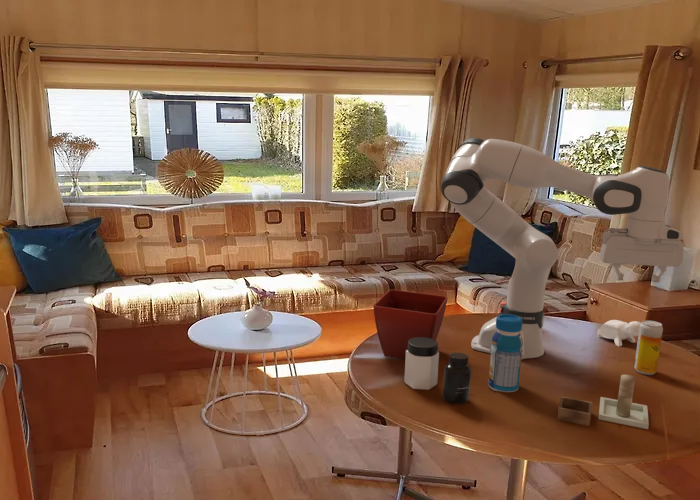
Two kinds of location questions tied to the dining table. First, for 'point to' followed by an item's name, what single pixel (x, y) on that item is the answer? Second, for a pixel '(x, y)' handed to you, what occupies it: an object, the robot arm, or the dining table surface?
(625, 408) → the dowel
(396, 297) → the plant pot
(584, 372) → the dining table surface
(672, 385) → the dining table surface
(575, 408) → the open square box
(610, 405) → the tray
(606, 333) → the white low-poly figurine
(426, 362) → the jar
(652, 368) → the beer can
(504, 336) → the beverage bottle
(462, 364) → the supplement bottle
